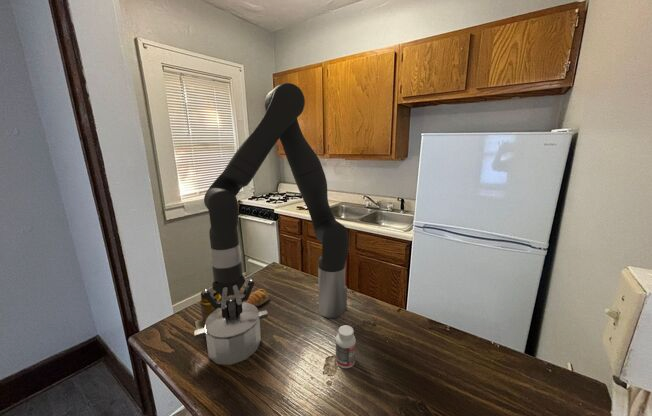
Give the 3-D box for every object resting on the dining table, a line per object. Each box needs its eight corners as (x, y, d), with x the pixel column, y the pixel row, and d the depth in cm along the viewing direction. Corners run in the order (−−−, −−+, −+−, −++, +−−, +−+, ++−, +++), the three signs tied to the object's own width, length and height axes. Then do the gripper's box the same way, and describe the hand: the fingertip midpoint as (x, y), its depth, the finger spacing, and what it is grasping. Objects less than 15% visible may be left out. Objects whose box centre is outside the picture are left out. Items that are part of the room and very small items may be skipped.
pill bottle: (352, 371, 65) (353, 339, 63) (333, 366, 67) (333, 334, 64) (356, 355, 70) (357, 325, 68) (338, 351, 72) (338, 321, 69)
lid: (253, 302, 82) (251, 282, 80) (264, 330, 70) (262, 306, 68) (205, 316, 76) (202, 294, 74) (207, 349, 63) (203, 323, 61)
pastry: (251, 312, 89) (250, 303, 88) (239, 306, 92) (238, 296, 92) (270, 299, 96) (270, 290, 95) (258, 294, 100) (258, 285, 99)
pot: (262, 319, 85) (261, 298, 83) (274, 349, 72) (273, 325, 70) (197, 339, 76) (194, 316, 74) (198, 376, 64) (194, 350, 62)
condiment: (226, 325, 82) (223, 292, 79) (197, 335, 78) (193, 301, 75) (221, 313, 88) (218, 282, 85) (194, 322, 84) (190, 290, 81)
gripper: (250, 251, 74) (254, 302, 78) (197, 260, 68) (205, 315, 72) (255, 260, 68) (259, 316, 72) (198, 272, 62) (206, 332, 66)
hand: (232, 315), depth 72 cm, fingers closed on lid, 2 cm apart
